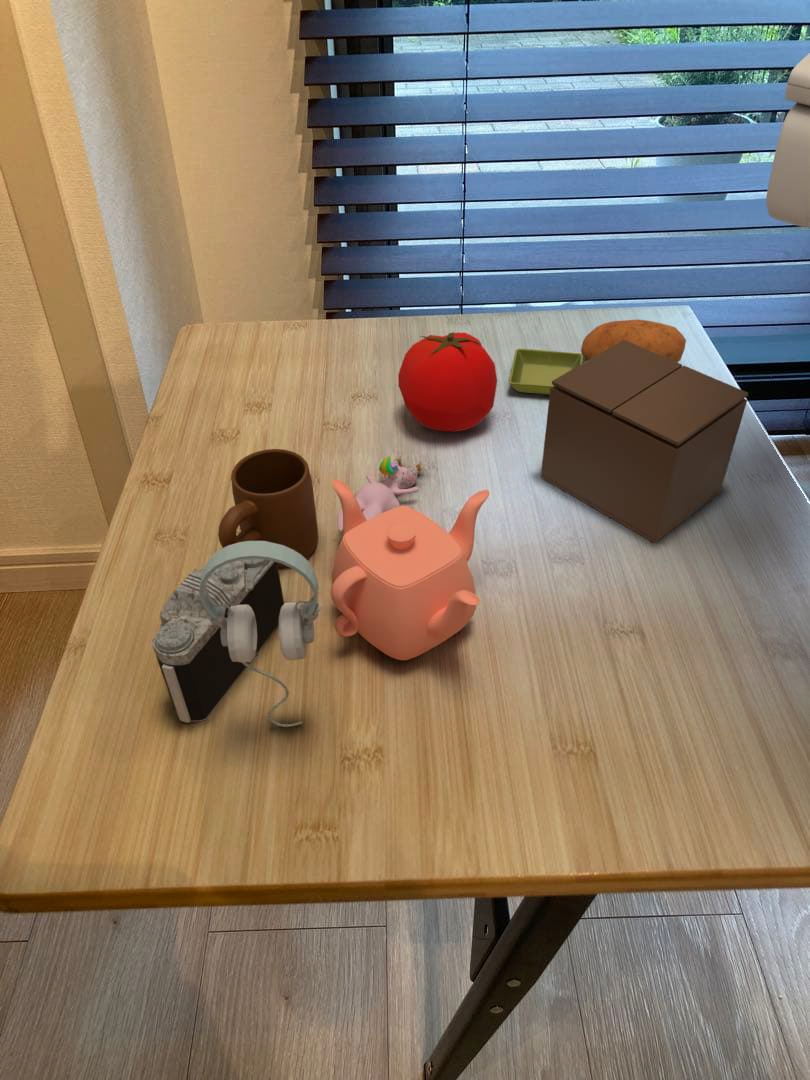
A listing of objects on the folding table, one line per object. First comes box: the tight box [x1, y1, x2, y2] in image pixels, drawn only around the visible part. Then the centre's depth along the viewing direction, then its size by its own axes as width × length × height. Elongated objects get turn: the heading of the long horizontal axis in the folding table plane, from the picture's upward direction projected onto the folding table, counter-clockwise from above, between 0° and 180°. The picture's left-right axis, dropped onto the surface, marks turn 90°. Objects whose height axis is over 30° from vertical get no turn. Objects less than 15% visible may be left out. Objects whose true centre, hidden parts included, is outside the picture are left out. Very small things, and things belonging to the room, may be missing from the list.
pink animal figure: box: [336, 454, 424, 532], centre depth 88 cm, size 6×6×15 cm
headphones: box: [199, 541, 322, 728], centre depth 63 cm, size 8×4×20 cm, turn 92°
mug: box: [217, 448, 319, 568], centre depth 81 cm, size 12×8×9 cm, turn 153°
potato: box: [580, 319, 687, 363], centre depth 107 cm, size 7×13×7 cm, turn 61°
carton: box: [540, 340, 748, 544], centre depth 88 cm, size 15×12×12 cm
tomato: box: [397, 331, 498, 433], centre depth 98 cm, size 12×12×11 cm
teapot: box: [330, 478, 490, 661], centre depth 74 cm, size 14×14×11 cm
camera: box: [151, 559, 285, 723], centre depth 72 cm, size 15×7×10 cm, turn 155°
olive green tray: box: [508, 348, 584, 396], centre depth 107 cm, size 9×9×2 cm
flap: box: [612, 365, 749, 446], centre depth 82 cm, size 7×12×1 cm, turn 133°
